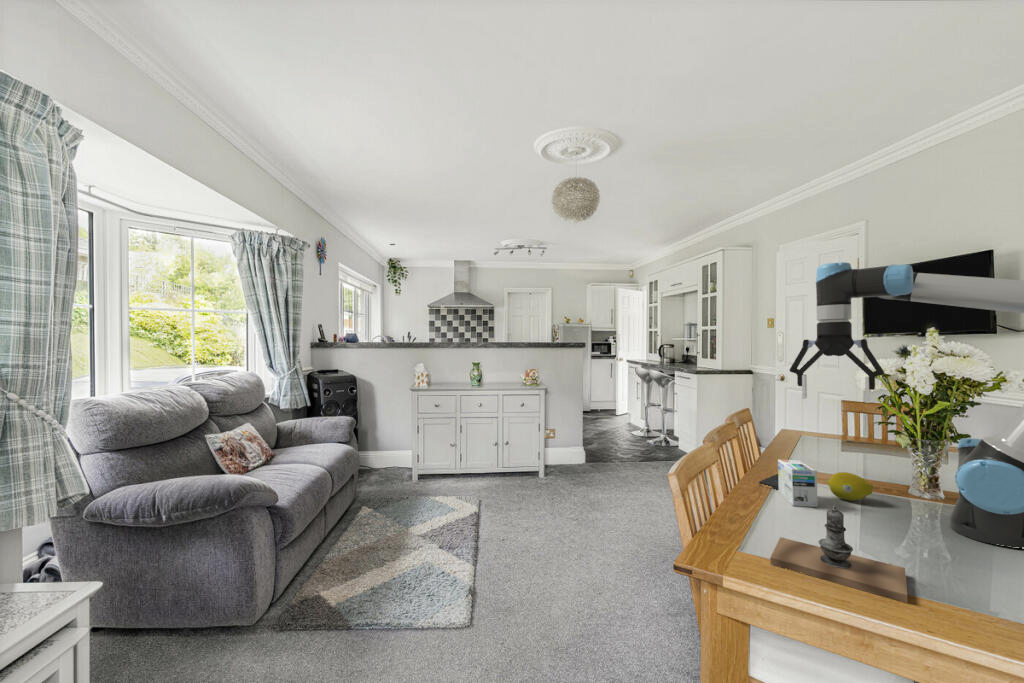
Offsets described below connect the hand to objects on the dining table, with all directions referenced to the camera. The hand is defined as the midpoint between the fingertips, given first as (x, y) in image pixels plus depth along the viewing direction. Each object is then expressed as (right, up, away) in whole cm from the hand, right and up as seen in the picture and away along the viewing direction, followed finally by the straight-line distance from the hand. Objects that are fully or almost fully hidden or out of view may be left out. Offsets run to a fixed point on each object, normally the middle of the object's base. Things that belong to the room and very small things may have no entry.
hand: (834, 400), depth 117 cm
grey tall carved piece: (-19, -31, -25) cm, 44 cm away
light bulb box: (-2, -32, +13) cm, 34 cm away
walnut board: (-19, -32, -25) cm, 45 cm away
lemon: (+13, -32, +12) cm, 36 cm away
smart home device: (+5, -32, +28) cm, 43 cm away
